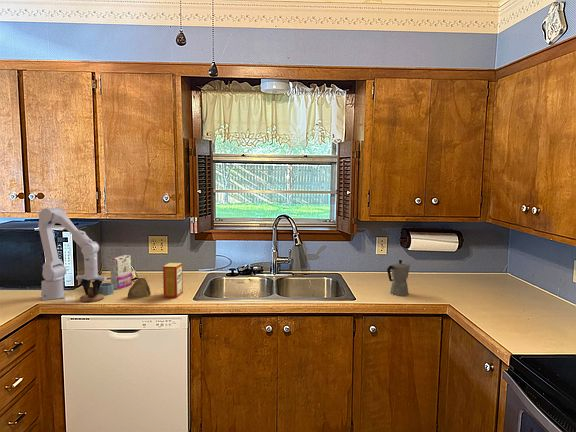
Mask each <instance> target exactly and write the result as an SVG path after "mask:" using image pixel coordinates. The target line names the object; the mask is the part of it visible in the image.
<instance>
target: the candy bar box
mask: <svg viewBox="0 0 576 432" xmlns="http://www.w3.org/2000/svg"><path fill="white" fill-rule="evenodd" d="M109 263H110V267H109V270H110V283H113V284H114V290H120V289H124V288H127V287H129V286H131V285H132V286H133V278H132V277H133V276H132V274H133V273H132V255H128V254H124V255H120V256H117V257H116V256H115V257H112V258H109Z"/></svg>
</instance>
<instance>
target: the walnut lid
mask: <svg viewBox="0 0 576 432" xmlns="http://www.w3.org/2000/svg"><path fill="white" fill-rule="evenodd" d="M104 297H105V295H103V294H98V295H96V296H94V289H93V286H90V287H88V295H86V294H84V295H81V296H80V297H79V301H80V302H82V303H94V302H98V301H102V300H104V299H105V298H104Z"/></svg>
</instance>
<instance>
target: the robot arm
mask: <svg viewBox="0 0 576 432" xmlns="http://www.w3.org/2000/svg"><path fill="white" fill-rule="evenodd" d="M38 219H39V220H38V224H37V225H38V230H39V235H40V240H41V244H42V250H43V253H44V259H45V261H44V263H43V265H42V274H41V275H42V277H43V279H44V280H41V293H40V294H41V301H48V300H58V299H59V300H60V299H64V298H65V296H66V294H65V293H64V277H65V275H66V274H67V268H66V266H65V265H64V262H63V260H62V259H60V258H59V255H58V250H57V245H56V241H55V236H54V231H53V227H54V226H55V225H56V224H60V226H62V227H63V228H64V229H65V230H67V231H68V232H69V233H70V234H71V235H72V236H71V239H72V240H73V241H74V242H75V243H76V245H78V247H80V252H81V254H83V260H84V262H83V264H84V266H83V267H84V268H83V269H84V274H82V275H81V274H78V275H76V276H75V278H76V280H77V281H80V285H81V286H82V287H83V290H84V292H85V295H88V287H91V284H92V287H93V289H94V296H96V295H98V291H99V288H100V285H101V283H103V282H105V281H106V282H107V279H108V278H107V276H105V275H99V272H98V271H99V270H98V252H99V251H100V249H101V247H100V245H99V243H98V241H93V239H92V238H90V237H89V236H88V235H87V233H86V231H83V230H79V229H78V228H77V227H76V225H74V223H73V222H72V220H71V219H70V218H69V216H68V215H67V212H66V211H65V210H64V209H63V208H62V207H60V206H59V207H49V208H48V207H47V208H42V209H41V211H39V213H38ZM91 281H92V282H91Z"/></svg>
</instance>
